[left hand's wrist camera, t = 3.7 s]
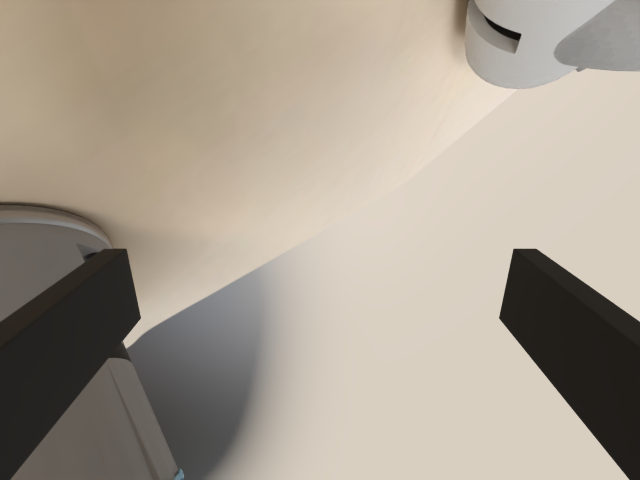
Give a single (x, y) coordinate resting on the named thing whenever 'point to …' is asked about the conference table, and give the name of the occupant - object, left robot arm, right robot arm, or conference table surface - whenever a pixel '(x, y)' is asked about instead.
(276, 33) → the conference table surface
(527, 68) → the projector
